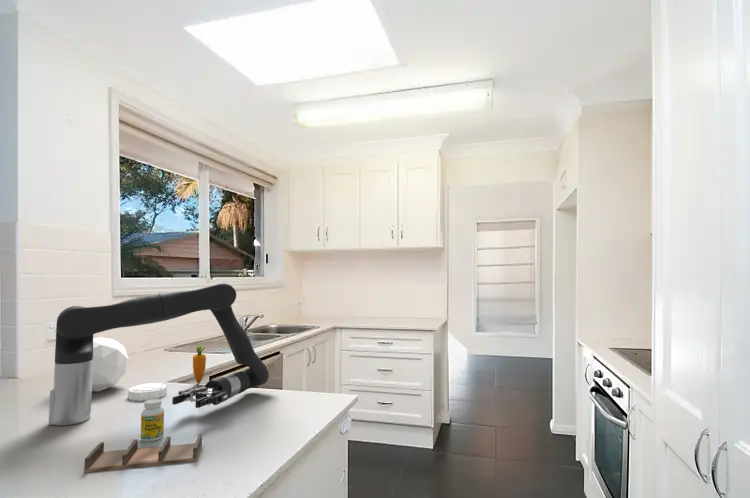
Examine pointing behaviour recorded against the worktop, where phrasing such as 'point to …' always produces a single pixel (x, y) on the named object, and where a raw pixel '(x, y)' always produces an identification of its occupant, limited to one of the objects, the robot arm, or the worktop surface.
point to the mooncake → (147, 391)
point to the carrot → (199, 364)
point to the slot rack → (142, 455)
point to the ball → (108, 363)
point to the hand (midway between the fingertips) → (184, 402)
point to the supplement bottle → (152, 421)
